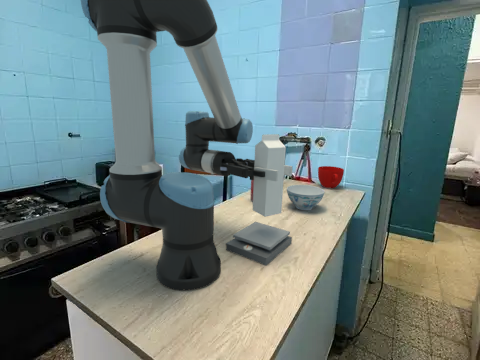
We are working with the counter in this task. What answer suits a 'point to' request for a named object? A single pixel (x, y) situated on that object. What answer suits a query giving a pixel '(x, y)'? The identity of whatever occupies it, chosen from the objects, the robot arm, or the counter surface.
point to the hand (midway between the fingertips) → (284, 173)
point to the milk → (268, 191)
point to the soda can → (252, 189)
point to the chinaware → (305, 196)
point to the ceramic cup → (330, 176)
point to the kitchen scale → (259, 242)
